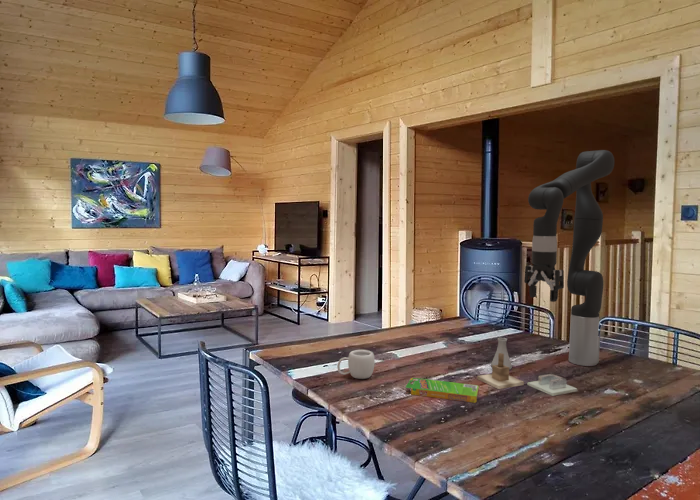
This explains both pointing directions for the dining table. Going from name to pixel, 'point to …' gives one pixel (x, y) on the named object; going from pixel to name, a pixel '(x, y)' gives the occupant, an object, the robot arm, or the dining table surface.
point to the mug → (359, 364)
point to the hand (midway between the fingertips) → (542, 299)
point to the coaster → (549, 391)
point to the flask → (502, 349)
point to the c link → (552, 381)
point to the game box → (443, 389)
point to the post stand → (500, 376)
